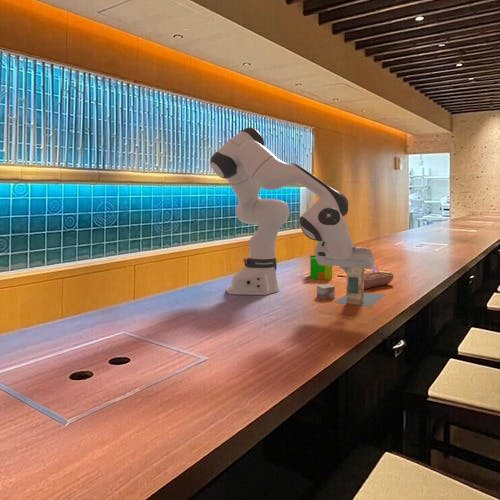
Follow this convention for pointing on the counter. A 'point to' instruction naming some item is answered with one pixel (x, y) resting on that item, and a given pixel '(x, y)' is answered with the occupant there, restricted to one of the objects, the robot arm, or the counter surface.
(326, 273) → the puzzle toy
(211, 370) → the counter surface
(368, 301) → the slate mat
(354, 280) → the maple block
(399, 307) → the counter surface
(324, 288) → the grey block
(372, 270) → the lily
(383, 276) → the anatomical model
